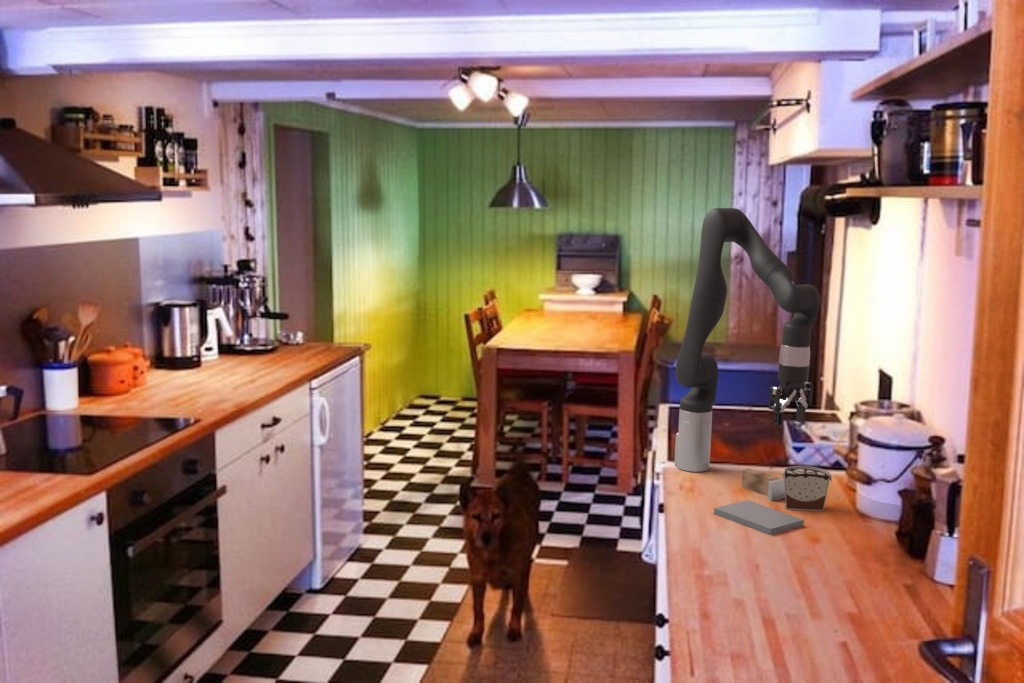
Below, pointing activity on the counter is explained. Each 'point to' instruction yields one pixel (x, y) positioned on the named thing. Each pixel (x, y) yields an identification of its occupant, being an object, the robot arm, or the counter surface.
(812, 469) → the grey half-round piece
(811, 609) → the counter surface
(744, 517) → the grey cutting board
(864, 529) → the counter surface
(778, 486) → the brown and grey block
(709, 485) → the counter surface
